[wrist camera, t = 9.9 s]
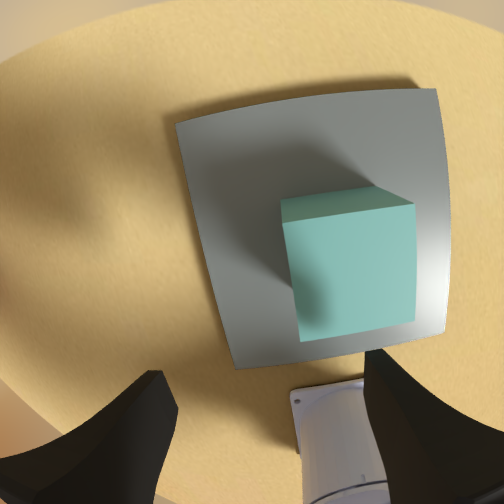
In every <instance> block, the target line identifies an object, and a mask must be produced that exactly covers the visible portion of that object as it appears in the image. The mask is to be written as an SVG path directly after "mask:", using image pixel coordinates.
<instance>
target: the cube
mask: <svg viewBox="0 0 504 504" xmlns="http://www.w3.org/2000/svg"><path fill="white" fill-rule="evenodd" d="M280 202H281V214H282V225H283V231H284V237H285V243H286V249H287V255H288V262H289V268H290V274H291V281H292V287H293V294H294V301H295V308H296V315H297V321H298V329H299V336H300V342H304V341H311V340H317V339H324V338H330V337H336V336H342V335H348V334H353V333H359V332H364V331H369V330H374V329H379V328H384V327H389V326H394V325H399V324H403V323H408V322H412V321H415V310H416V287H417V234H416V211H415V203H413V202H410V201H408V200H406V199H404V198H402V197H400V196H397V195H395V194H393V193H391V192H389V191H386V190H384V189H382V188H380V187H377V186H371V187H363V188H356V189H348V190H341V191H334V192H327V193H320V194H314V195H307V196H301V197H294V198H288V199H282V200H280Z"/></svg>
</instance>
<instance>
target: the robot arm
mask: <svg viewBox="0 0 504 504" xmlns="http://www.w3.org/2000/svg"><path fill="white" fill-rule="evenodd" d="M296 399H299V400H296ZM290 401H291V407H292V413H293V418H294V424H295V429H296V435H297V441H298V446H299V452H300V458H301V461H302V491H303V504H504V432H503V431H500V430H497V429H494V428H492V427H489V426H487V425H484V424H482V423H480V422H478V421H476V420H474V419H472V418H470V417H468V416H466V415H464V414H462V413H460V412H459V411H457V410H456V409H454V408H452V407H451V406H449V405H447V404H446V403H444V402H443V401H442V400H440V399H439V398H437V397H436V396H435V395H433V394H432V393H431V392H429V391H428V390H427V389H426V388H425V387H423V386H422V385H421V384H420V383H419V382H417V381H416V380H415V379H414V378H413V377H412V376H411V375H409V374H408V373H407V372H406V371H405V370H404V369H403V368H402V367H401V366H400V365H399V364H398V363H397V362H396V361H395V360H394V359H393V358H392V357H391V356H390V355H389V354H388V353H386V352H385V351H384V350H383V349H382V348H381V349H376V350H371V351H365V363H364V378H361V379H356V380H351V381H346V382H340V383H334V384H328V385H322V386H315V387H309V388H301V389H295V390H292V391H291V392H290ZM177 415H178V406H177V404H176V402H175V400H174V397H173V395H172V393H171V390H170V388H169V386H168V383H167V381H166V378H165V376H164V374H163V371H162V370H148V371H147V372H145V373H144V374H143V375H142V376H140V377H139V378H138V379H137V380H136V381H135V382H133V383H132V384H131V385H130V386H129V387H128V388H127V389H125V390H124V391H123V392H122V393H121V394H120V395H119V396H117V397H116V398H115V399H114V400H113V401H112V402H111V403H109V404H108V405H107V406H106V407H104V408H103V409H102V410H100V411H99V412H98V413H97V414H95V415H94V416H93V417H92V418H90V419H89V420H87V421H86V422H84V423H83V424H82V425H80V426H78V427H77V428H75V429H74V430H72V431H70V432H69V433H67V434H65V435H63V436H61V437H59V438H57V439H55V440H53V441H51V442H49V443H47V444H45V445H43V446H40V447H38V448H35V449H32V450H30V451H27V452H24V453H20V454H17V455H13V456H9V457H5V458H0V498H1V499H2V500H3V501H4V502H6V503H7V504H153V500H154V495H155V490H156V485H157V482H158V478H159V475H160V472H161V469H162V466H163V463H164V460H165V458H166V455H167V452H168V449H169V446H170V443H171V440H172V437H173V434H174V431H175V426H176V421H177Z"/></svg>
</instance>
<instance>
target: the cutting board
mask: <svg viewBox="0 0 504 504" xmlns="http://www.w3.org/2000/svg"><path fill="white" fill-rule="evenodd" d="M175 127H176V132H177V137H178V142H179V147H180V151H181V156H182V161H183V166H184V170H185V175H186V179H187V184H188V188H189V193H190V197H191V201H192V206H193V210H194V214H195V219H196V223H197V227H198V231H199V235H200V239H201V243H202V247H203V251H204V255H205V259H206V263H207V267H208V271H209V275H210V279H211V283H212V287H213V291H214V294H215V298H216V302H217V306H218V309H219V313H220V317H221V320H222V324H223V328H224V331H225V335H226V338H227V342H228V345H229V349H230V352H231V356H232V359H233V363H234V366H235V370H238V369H248V368H258V367H267V366H276V365H284V364H292V363H299V362H306V361H313V360H319V359H325V358H331V357H337V356H343V355H348V354H354V353H359V352H364V351H369V350H374V349H379V348H384V347H388V346H393V345H397V344H401V343H406V342H410V341H414V340H418V339H422V338H426V337H430V336H433V335H437V334H441V333H444V331H445V324H446V315H447V305H448V294H449V280H450V258H451V211H450V190H449V176H448V164H447V155H446V146H445V138H444V131H443V124H442V118H441V112H440V107H439V101H438V96H437V91H436V89H384V90H367V91H354V92H342V93H333V94H323V95H315V96H307V97H300V98H293V99H287V100H280V101H274V102H268V103H263V104H257V105H252V106H247V107H242V108H237V109H232V110H228V111H223V112H219V113H214V114H210V115H206V116H202V117H198V118H194V119H190V120H186V121H182V122H179V123H175ZM371 186H377V187H380V188H382V189H384V190H386V191H389V192H391V193H393V194H395V195H397V196H400V197H402V198H404V199H406V200H408V201H410V202H413V203H415V211H416V234H417V287H416V310H415V321H412V322H408V323H403V324H399V325H394V326H389V327H384V328H379V329H374V330H369V331H364V332H359V333H353V334H348V335H342V336H336V337H330V338H324V339H317V340H311V341H304V342H300V336H299V329H298V321H297V315H296V308H295V301H294V294H293V287H292V281H291V274H290V268H289V262H288V255H287V249H286V243H285V237H284V231H283V225H282V214H281V202H280V200H282V199H288V198H294V197H301V196H307V195H314V194H320V193H327V192H334V191H341V190H348V189H356V188H363V187H371Z"/></svg>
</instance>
